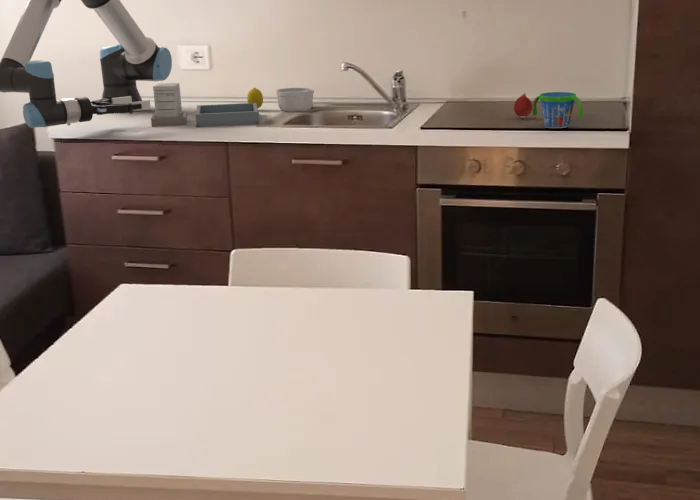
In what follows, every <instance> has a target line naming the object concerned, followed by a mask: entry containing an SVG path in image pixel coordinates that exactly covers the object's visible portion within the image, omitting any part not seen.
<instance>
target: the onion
mask: <svg viewBox="0 0 700 500" xmlns="http://www.w3.org/2000/svg"><path fill="white" fill-rule="evenodd" d="M532 106H533V103H532V101H531V99H529V97H527V95H526V93H522V95H521V96H519V97H518V98H517V99H516V100H515V102H514V104H513V112H514V114H516V116H518V117H519V116H526V117H528V116H529V115H530V114H531V113H532Z"/></svg>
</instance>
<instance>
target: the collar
mask: <svg viewBox="0 0 700 500" xmlns="http://www.w3.org/2000/svg"><path fill="white" fill-rule="evenodd" d="M187 121H188V112H187V111H182V117H168V118H156V112H154V113H153V114H152V116H151V117H150V124H151V127H164V126H163V125H172V126H186V125H187V123H188V122H187Z"/></svg>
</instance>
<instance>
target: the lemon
mask: <svg viewBox="0 0 700 500" xmlns="http://www.w3.org/2000/svg"><path fill="white" fill-rule="evenodd" d="M246 99H247V103H256V104H257V108H258V109H260V108H261V107H262V105H263V103H264V96H263V93H262V91H261V90H260V89H258V88H256V87H253V88H252V89H250V90H249V91H248V92H247V97H246Z"/></svg>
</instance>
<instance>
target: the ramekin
mask: <svg viewBox="0 0 700 500" xmlns="http://www.w3.org/2000/svg"><path fill="white" fill-rule="evenodd" d="M275 93H276V97H277V98H276V99H277V104H278V108H279V109H280V111H282V112H287V113H288V112H291V113H293V112H294V113H295V112H296V113H297V112H306V111H310V110H311V109H312V107H313V102H314V101H313V99H314V94H315V91H314V89H313V88H310V87H287V88H286V87H284V88H279V89H276V91H275Z"/></svg>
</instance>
